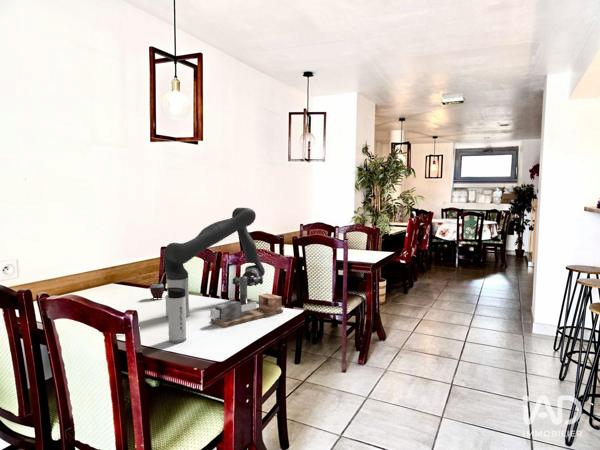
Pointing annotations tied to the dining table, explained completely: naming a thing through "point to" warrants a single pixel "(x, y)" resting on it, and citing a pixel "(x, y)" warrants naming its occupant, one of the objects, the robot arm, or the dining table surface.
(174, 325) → the travel mug
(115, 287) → the dining table surface
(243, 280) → the grey stepped block
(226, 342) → the dining table surface
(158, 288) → the mate gourd
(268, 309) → the tube rig
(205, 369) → the dining table surface
